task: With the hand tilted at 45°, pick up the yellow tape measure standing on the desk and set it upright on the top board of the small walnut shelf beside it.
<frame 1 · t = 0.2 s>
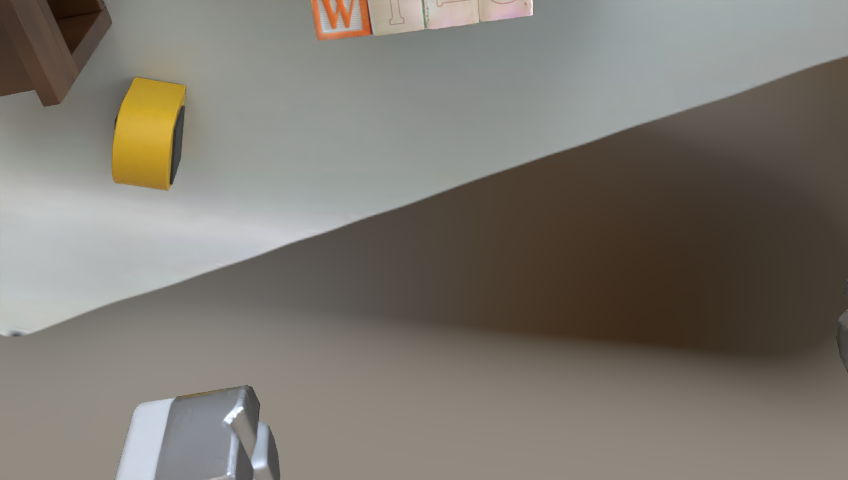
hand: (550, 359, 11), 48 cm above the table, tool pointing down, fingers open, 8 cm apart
tape measure: (158, 117, 59), on the table
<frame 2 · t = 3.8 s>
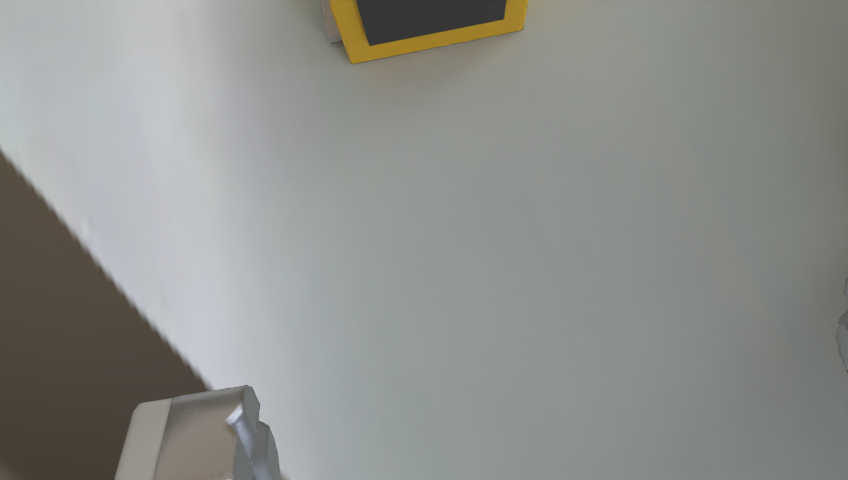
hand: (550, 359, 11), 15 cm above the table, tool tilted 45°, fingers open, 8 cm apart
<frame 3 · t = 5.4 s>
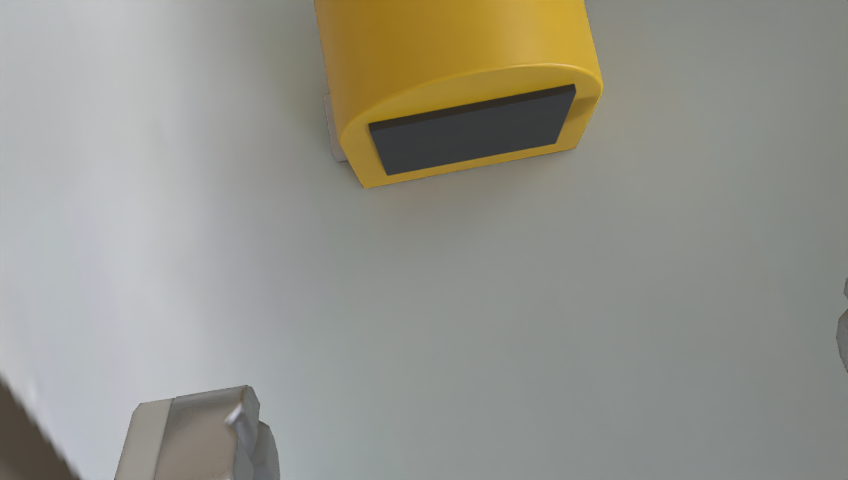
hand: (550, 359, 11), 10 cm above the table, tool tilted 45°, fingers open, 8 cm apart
tape measure: (457, 108, 22), on the table
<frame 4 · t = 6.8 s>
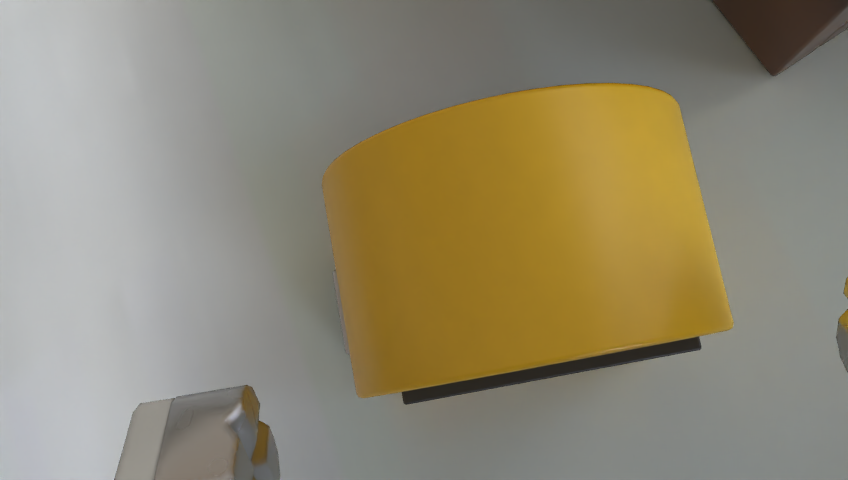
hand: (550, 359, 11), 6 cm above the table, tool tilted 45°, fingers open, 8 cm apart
tape measure: (505, 283, 17), on the table
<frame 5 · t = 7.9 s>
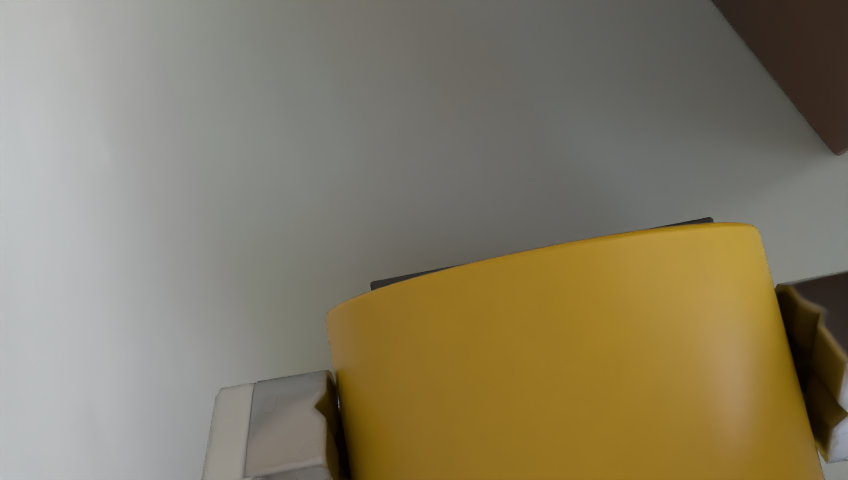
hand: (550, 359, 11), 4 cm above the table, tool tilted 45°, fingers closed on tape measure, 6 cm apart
tape measure: (534, 395, 15), on the table, touching gripper
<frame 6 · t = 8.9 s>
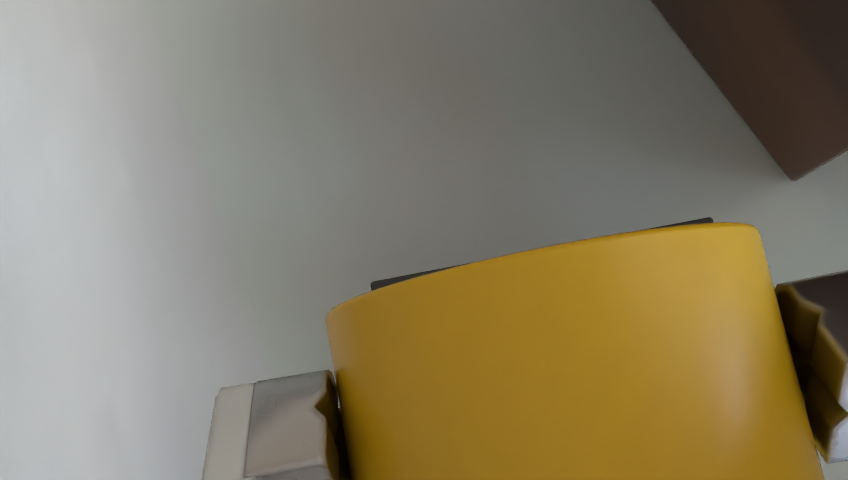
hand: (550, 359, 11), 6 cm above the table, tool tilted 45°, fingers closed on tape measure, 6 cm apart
tape measure: (534, 395, 15), point 1 cm above the table, touching gripper
when the fingers open (14 cm above the table, at t = 15.4 s): tape measure stays where it is, resting on shelf.
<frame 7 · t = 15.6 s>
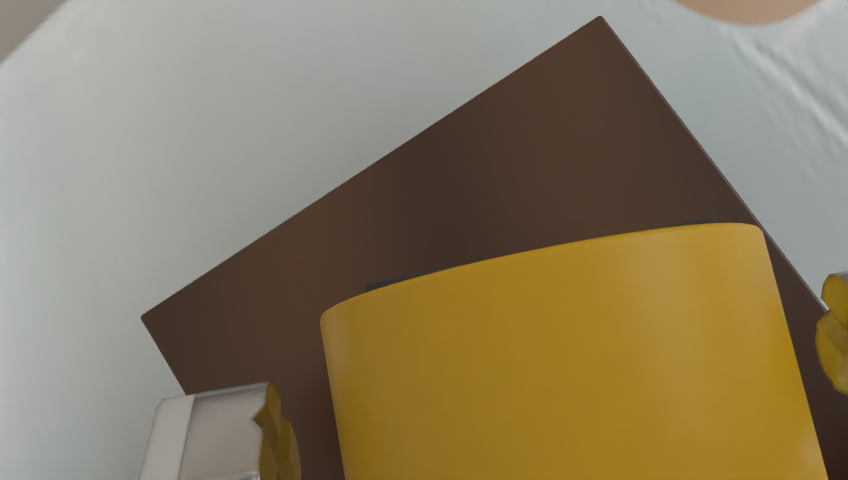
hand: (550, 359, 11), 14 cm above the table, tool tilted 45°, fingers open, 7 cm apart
shelf: (505, 387, 25), on the table
tape measure: (533, 398, 15), point 10 cm above the table, touching shelf
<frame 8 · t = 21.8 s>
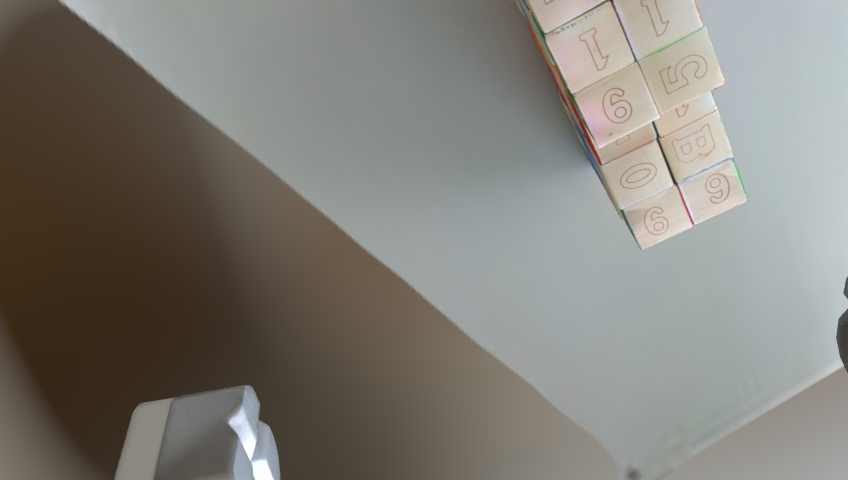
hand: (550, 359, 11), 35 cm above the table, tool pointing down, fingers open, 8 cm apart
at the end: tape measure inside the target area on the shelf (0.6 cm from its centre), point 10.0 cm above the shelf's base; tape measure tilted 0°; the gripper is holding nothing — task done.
